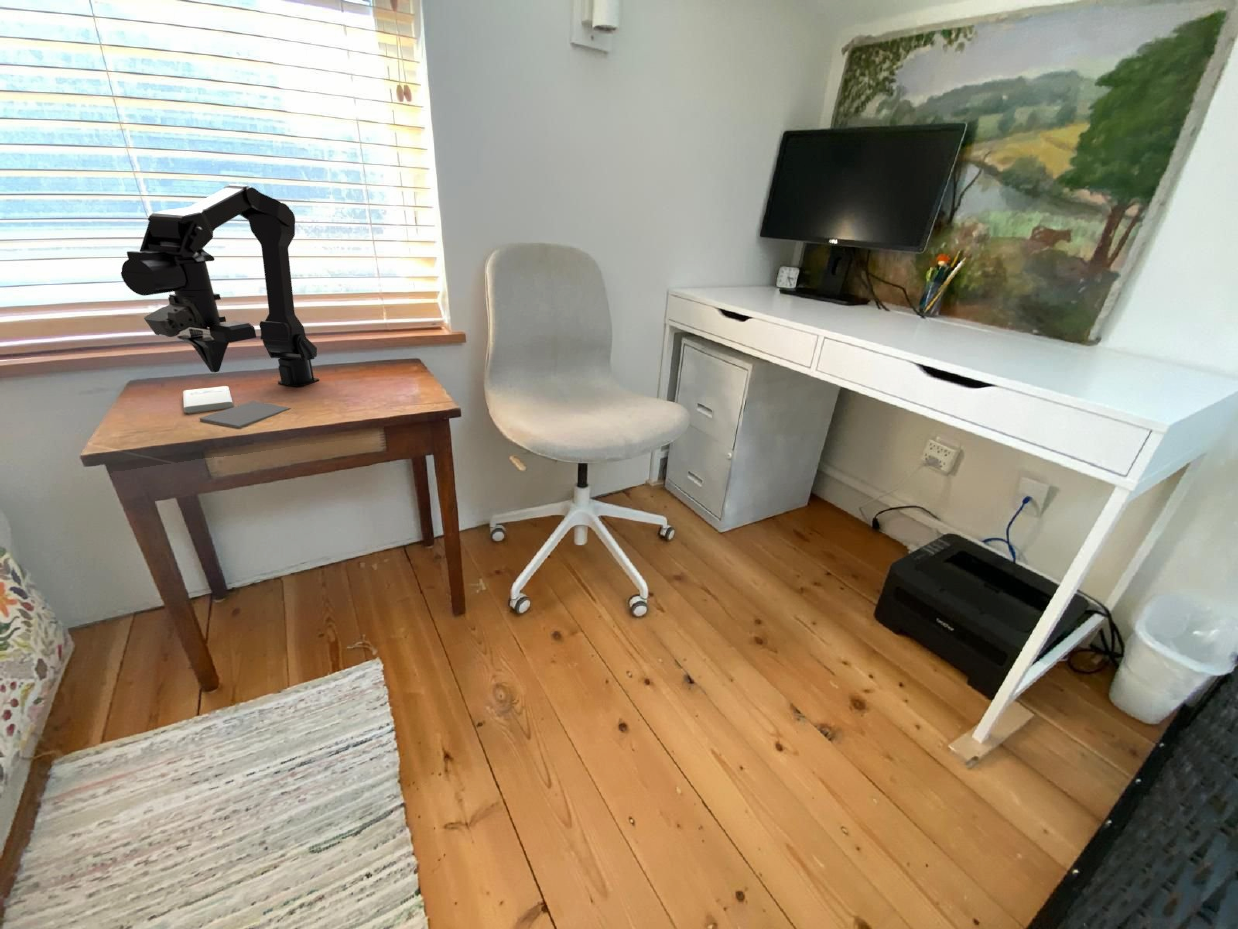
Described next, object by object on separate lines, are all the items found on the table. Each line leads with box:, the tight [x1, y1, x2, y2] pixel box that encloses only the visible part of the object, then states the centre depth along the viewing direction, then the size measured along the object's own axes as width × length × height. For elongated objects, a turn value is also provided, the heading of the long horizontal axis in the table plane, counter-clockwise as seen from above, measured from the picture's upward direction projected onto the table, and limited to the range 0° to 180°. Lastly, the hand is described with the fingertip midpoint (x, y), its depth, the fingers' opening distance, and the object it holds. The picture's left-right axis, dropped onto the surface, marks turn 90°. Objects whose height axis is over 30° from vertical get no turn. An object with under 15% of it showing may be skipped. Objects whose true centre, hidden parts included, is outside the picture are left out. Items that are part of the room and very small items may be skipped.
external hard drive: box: [182, 385, 235, 415], centre depth 114 cm, size 2×8×12 cm
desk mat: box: [199, 400, 291, 430], centre depth 109 cm, size 12×10×1 cm
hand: (215, 371), depth 103 cm, fingers closed
